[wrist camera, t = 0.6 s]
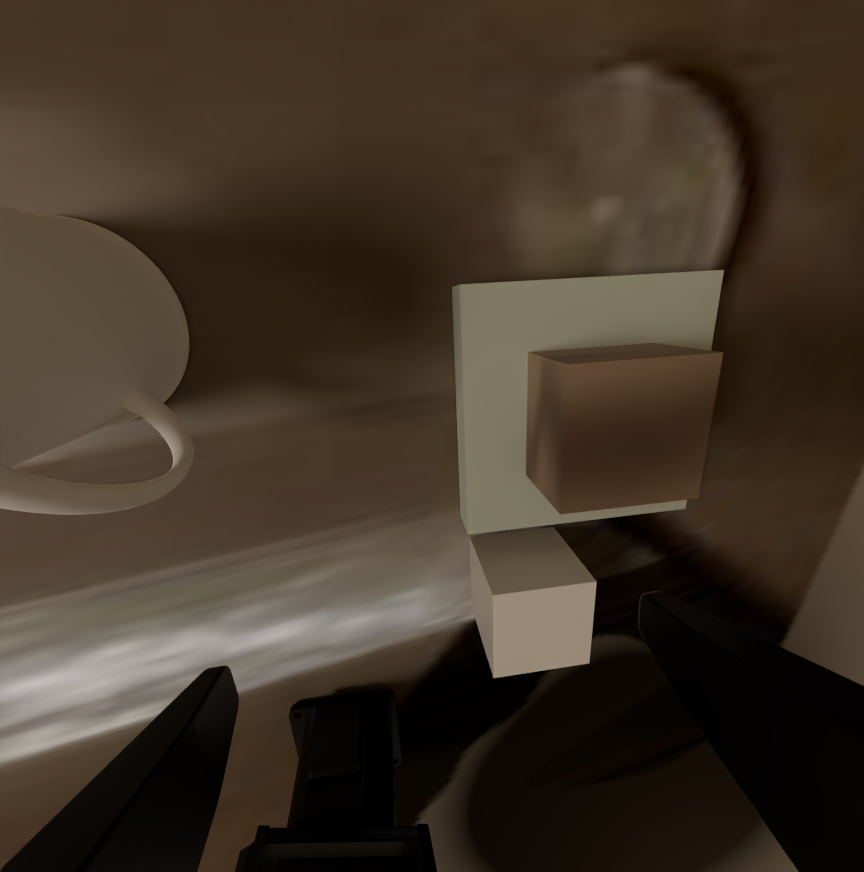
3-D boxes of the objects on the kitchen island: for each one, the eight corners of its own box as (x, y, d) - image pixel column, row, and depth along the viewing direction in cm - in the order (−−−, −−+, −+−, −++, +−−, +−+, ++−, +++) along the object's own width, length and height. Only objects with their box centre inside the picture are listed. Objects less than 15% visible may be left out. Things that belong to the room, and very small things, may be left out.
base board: (660, 492, 23) (685, 508, 22) (460, 515, 22) (467, 534, 20) (691, 273, 20) (724, 270, 18) (451, 286, 19) (460, 284, 17)
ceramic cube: (550, 596, 25) (589, 663, 20) (471, 606, 25) (493, 678, 20) (553, 526, 23) (596, 581, 19) (469, 536, 23) (492, 595, 18)
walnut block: (639, 462, 20) (698, 498, 17) (525, 474, 20) (560, 514, 16) (653, 343, 18) (723, 352, 15) (528, 352, 18) (567, 364, 14)
